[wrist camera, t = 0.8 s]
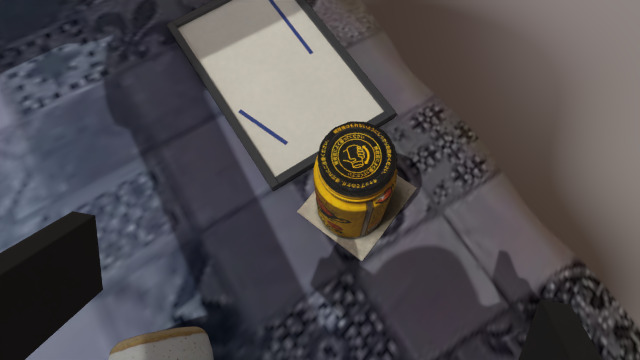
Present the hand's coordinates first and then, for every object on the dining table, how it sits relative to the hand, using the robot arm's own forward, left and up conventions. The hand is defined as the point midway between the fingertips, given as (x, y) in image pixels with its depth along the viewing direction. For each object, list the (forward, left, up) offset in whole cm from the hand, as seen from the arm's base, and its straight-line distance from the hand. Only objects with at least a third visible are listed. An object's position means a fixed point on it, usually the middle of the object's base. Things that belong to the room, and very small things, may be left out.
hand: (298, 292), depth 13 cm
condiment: (-7, +9, -25) cm, 27 cm away
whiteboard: (-23, +10, -24) cm, 35 cm away
